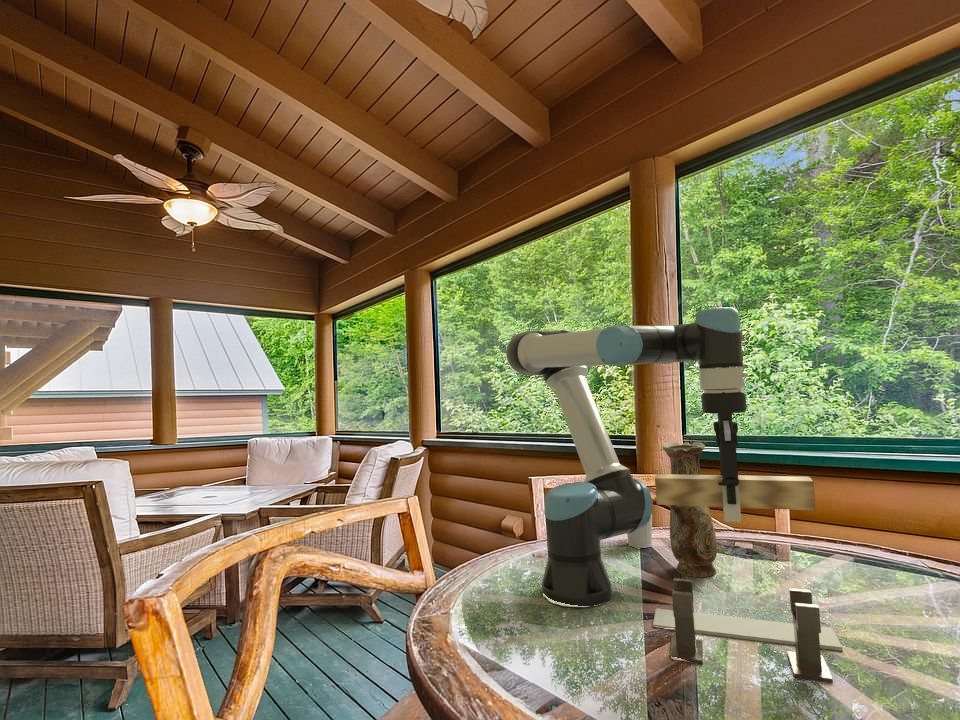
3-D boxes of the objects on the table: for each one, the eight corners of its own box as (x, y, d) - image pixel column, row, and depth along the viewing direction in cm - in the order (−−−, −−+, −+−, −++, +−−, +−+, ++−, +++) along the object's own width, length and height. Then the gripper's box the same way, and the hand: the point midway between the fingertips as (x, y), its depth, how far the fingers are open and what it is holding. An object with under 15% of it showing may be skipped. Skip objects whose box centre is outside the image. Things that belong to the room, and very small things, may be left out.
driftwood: (783, 559, 130) (782, 551, 130) (771, 567, 125) (770, 558, 125) (703, 543, 146) (702, 535, 146) (690, 549, 141) (689, 541, 142)
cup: (640, 552, 139) (636, 506, 140) (619, 544, 147) (616, 501, 147) (661, 546, 143) (658, 501, 144) (640, 538, 150) (637, 496, 151)
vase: (721, 580, 118) (711, 447, 119) (671, 577, 121) (662, 447, 122) (716, 563, 128) (707, 441, 129) (670, 561, 131) (661, 441, 132)
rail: (656, 504, 100) (654, 478, 100) (658, 499, 103) (656, 474, 104) (815, 510, 90) (813, 481, 90) (811, 504, 93) (808, 476, 94)
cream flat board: (653, 627, 98) (653, 624, 98) (656, 611, 105) (655, 608, 105) (842, 650, 87) (842, 647, 87) (832, 631, 93) (832, 627, 93)
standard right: (794, 677, 80) (788, 604, 81) (787, 654, 87) (782, 587, 87) (832, 682, 78) (826, 608, 79) (822, 659, 85) (817, 590, 85)
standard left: (670, 659, 87) (665, 592, 88) (672, 639, 94) (667, 577, 94) (702, 664, 85) (697, 595, 86) (702, 643, 92) (697, 580, 92)
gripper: (749, 392, 88) (760, 532, 87) (741, 388, 104) (750, 507, 103) (701, 394, 91) (711, 530, 90) (700, 390, 107) (709, 505, 106)
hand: (732, 517), depth 96 cm, fingers closed on rail, 4 cm apart
